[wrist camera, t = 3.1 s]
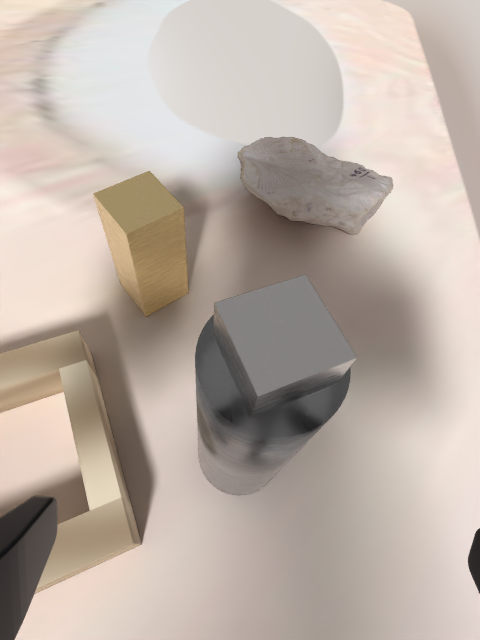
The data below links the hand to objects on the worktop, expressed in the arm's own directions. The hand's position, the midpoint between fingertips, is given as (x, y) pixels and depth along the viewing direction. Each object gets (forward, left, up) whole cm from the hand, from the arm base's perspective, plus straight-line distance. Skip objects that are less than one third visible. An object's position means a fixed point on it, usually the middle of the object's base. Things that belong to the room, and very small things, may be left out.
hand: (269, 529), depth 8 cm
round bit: (+3, -2, -11) cm, 11 cm away
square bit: (+14, -1, -11) cm, 18 cm away
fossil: (+18, -13, -11) cm, 24 cm away
